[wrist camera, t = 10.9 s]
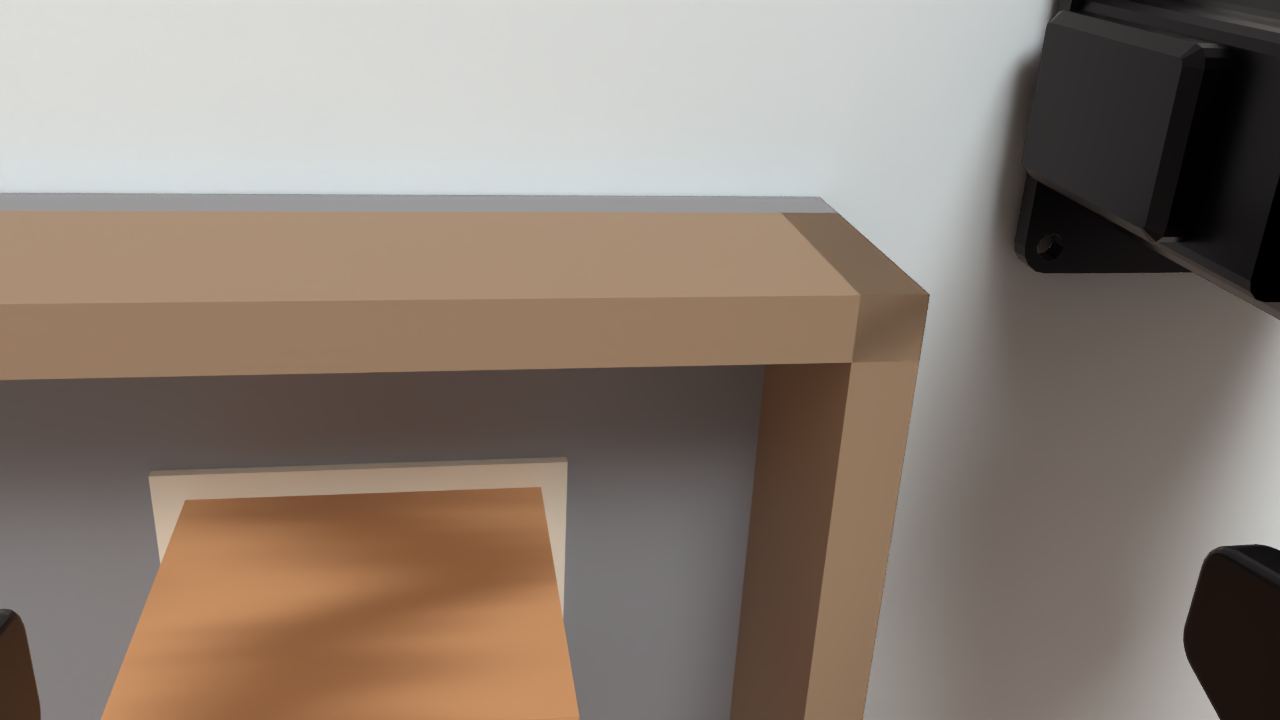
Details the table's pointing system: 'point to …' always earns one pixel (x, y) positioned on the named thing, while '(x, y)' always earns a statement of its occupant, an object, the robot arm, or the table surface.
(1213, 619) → the robot arm
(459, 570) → the block
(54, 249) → the arena
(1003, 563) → the table surface
